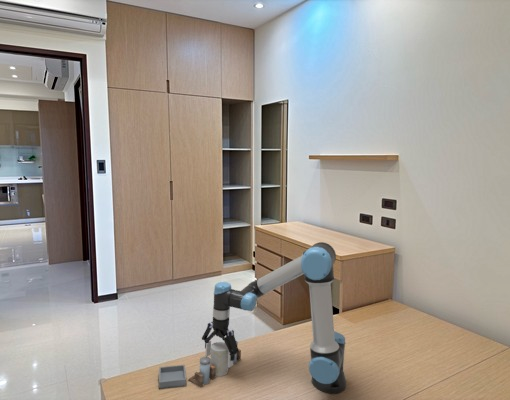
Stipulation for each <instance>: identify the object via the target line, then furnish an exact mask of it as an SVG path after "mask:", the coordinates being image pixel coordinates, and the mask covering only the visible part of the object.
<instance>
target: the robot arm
mask: <svg viewBox="0 0 510 400" xmlns="http://www.w3.org/2000/svg"><path fill="white" fill-rule="evenodd" d="M336 258H337V254H336V251H335V249H334V247H333V246H332V245H330V244H329V243H327V242H317V243H314V244H312V245H311V246H310V248H308V249H307V250H305V251H302V254H301V256H298V257H296V258H294V259H293V260H291V261H289V262H288V263H285V264H284V265H282V266H280V267H279V268H276V269H274V270H273V271H271V272H269V273H267V274H266V275H265V274H264V276H262V277H260V278H258V279H256V280H253V281H251V282H250V283H248V284H247V286H245V287H243V288H242V289H241V290H236V289H233V288H232V285H231V283H229V282H227V281H220V282H217V283H216V284H214V290H213V309H212V321H210V322H209V323H207V327H206V329H205V331H204V333H203V335H202V337H201V341H204V349H205V356H204V357H209V356H211V345H212V341H211V340H212V339H213V338H214V337H219V338H220V339H222V341H223V342H224V343H225V344H226V346H227V348H228V350H229V352H230V353H229V355H228V369H230V368H231V367H233V366H234V365H233V360H234V359H235V354H236V353H238V352H239V350H238V349H239V347H238V345H237V343H236V341H237V340H236V337H235V331H234V330H233V329H232V330H230V329H229V325H230V312H231V308H235V309H239V310H242V311H249V312H253V311H254V310H255V309H256V306H257V303H258V299H259V298H260V297H262V296H265V295H266V294H268V293H270V292H272V291H274V290H276V289H277V288H279V287H281V286H283V285H286V284H287V283H290V282H291V281H293V280H295V279H297V278H299V277H301V276H302V275H304V281H305V282H306V283H307V285H308V287H309V301H310V315H311V326H312V327H311V328H312V330H311V331H312V338H313V339H312V342H310V344H309V349H310V351H309V352H310V361H309V363H308V364H309V365H308V371H309V375H311V384H312V385H313V386H314V388H316V389H317V390H319V391H320V392H324V393H327V394H339V393H342V392H344V391H345V390H346V387H347V379H346V375H345V371H344V361H345V351H346V350H345V347H346V338H345V336H344V334H342V333H340V332H338V331H335V325H334V324H335V323H334V314H333V313H334V311H333V299H332V298H333V297H332V286H331V285H332V283H333V282H334V280H335V273H334V264H335V262H336ZM212 329H213V331H212Z"/></svg>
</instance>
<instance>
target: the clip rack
mask: <svg viewBox="0 0 510 400" xmlns="http://www.w3.org/2000/svg"><path fill="white" fill-rule="evenodd" d="M238 350H239V352H238V353H237V361H238V362H239V361H241V358H242V357H241V356H242V350H241V349H239V348H238ZM215 373H216V367H215V366H213V365H211V364H210V377H209V380H214V379H215V378H216V376H215ZM187 381H188V382H190V383H191V384H193V385H195V386H196V387H200V388H203V387H204V384H203V375H202V374H200V371H196V372H194V375H192V376H191V377H189V378H188V380H187Z"/></svg>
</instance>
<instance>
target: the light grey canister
mask: <svg viewBox="0 0 510 400" xmlns="http://www.w3.org/2000/svg"><path fill="white" fill-rule="evenodd" d="M228 353H229V350H228V348H227V346H226V344H225V342H224V341H217V342H216V341H215V342H213V343H211V354H210V357H209V358H210V364H211V365H213V366H215V367H216V373H215V377H223V376H225V375H227V374H228V371H229V368H228Z"/></svg>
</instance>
